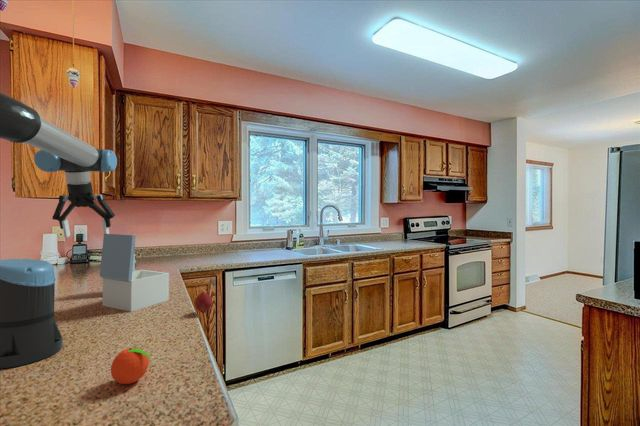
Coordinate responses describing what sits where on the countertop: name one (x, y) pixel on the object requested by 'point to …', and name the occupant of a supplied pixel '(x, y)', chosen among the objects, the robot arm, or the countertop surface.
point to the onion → (203, 302)
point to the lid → (117, 257)
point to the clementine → (129, 365)
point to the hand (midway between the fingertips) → (87, 235)
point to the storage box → (136, 290)
